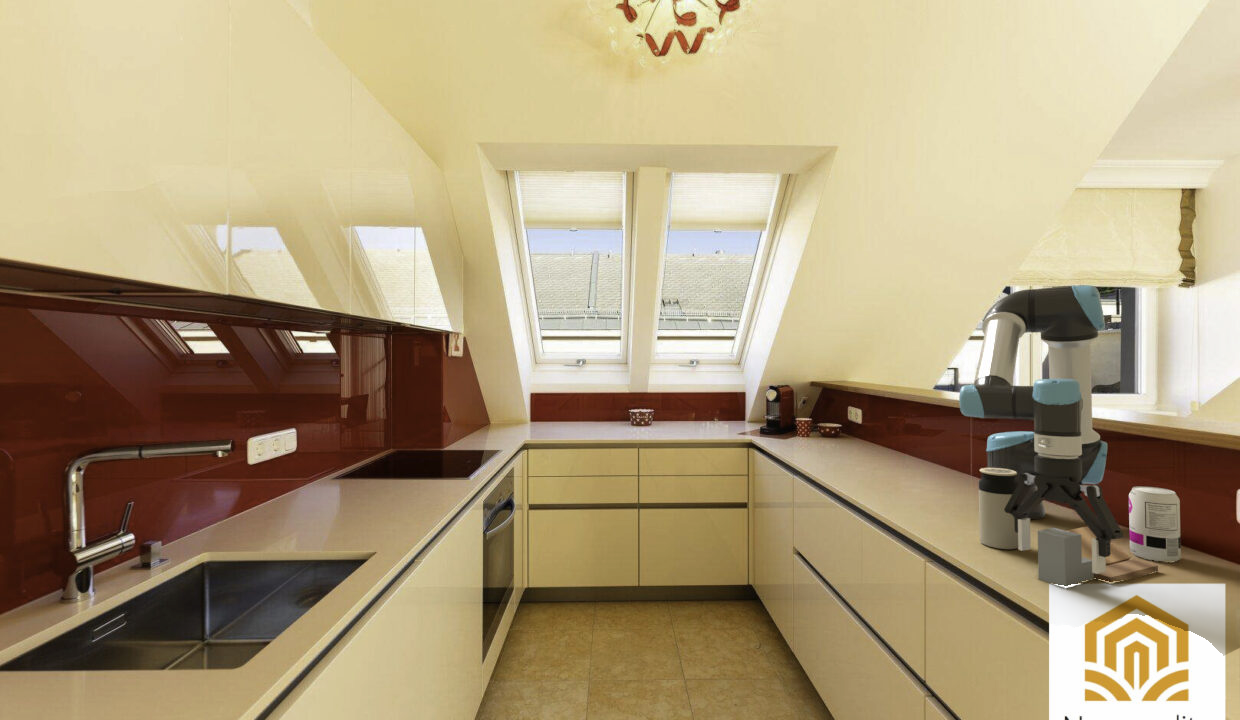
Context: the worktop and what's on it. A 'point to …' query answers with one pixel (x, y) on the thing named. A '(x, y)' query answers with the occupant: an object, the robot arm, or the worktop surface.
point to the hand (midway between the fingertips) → (1059, 560)
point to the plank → (1086, 547)
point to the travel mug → (997, 508)
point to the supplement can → (1154, 524)
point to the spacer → (1062, 558)
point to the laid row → (1126, 570)
